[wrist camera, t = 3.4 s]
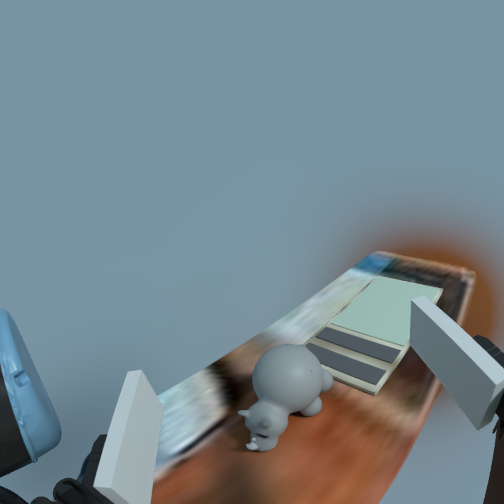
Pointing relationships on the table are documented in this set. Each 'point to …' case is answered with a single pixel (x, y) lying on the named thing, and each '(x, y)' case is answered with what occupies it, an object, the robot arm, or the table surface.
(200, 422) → the table surface
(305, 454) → the table surface
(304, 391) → the chubby cartoon animal
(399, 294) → the pad
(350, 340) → the dark gray parallel strips
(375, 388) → the board
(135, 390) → the robot arm
